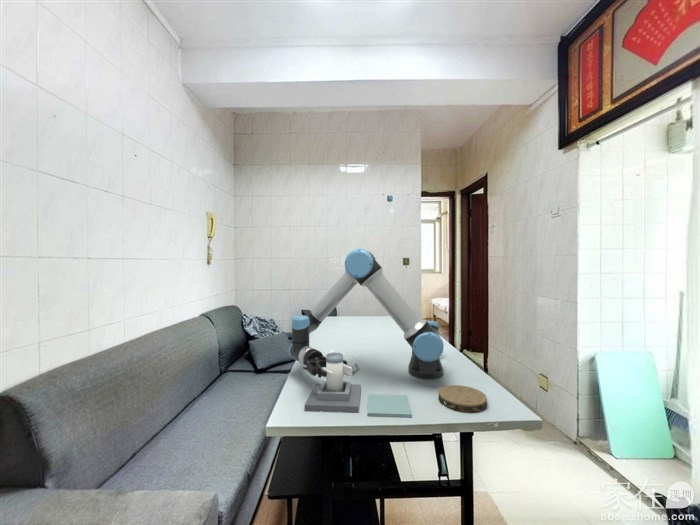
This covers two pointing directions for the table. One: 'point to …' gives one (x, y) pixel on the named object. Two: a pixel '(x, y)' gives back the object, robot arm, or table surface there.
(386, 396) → the mat
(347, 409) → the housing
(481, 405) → the wood slice coaster
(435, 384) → the table surface
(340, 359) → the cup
